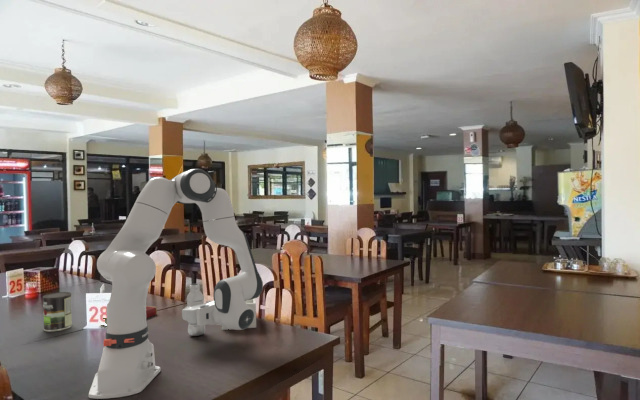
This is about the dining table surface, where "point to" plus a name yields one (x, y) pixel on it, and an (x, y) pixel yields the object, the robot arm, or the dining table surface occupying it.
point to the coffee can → (57, 311)
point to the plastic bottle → (192, 300)
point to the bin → (252, 305)
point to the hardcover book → (149, 312)
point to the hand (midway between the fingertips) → (197, 305)
